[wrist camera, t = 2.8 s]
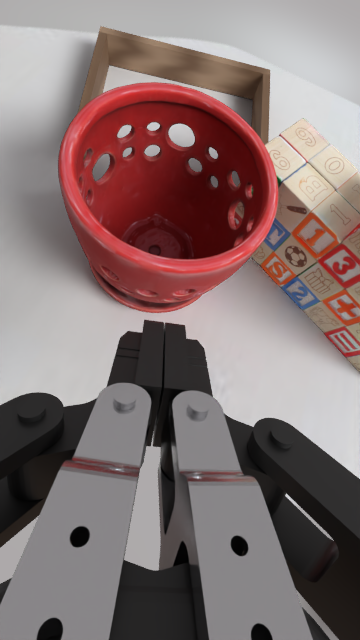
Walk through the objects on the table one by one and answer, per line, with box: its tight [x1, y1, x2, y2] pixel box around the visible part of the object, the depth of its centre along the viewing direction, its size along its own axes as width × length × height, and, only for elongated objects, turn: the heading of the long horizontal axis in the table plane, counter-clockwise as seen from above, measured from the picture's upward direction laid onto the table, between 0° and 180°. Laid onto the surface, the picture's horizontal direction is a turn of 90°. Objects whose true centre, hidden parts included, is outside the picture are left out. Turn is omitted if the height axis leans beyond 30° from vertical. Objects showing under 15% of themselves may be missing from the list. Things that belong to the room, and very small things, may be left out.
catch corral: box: [78, 27, 270, 159], centre depth 32 cm, size 19×14×3 cm
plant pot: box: [58, 82, 278, 313], centre depth 23 cm, size 13×13×12 cm
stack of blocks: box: [234, 118, 360, 372], centre depth 25 cm, size 21×6×12 cm, turn 42°
